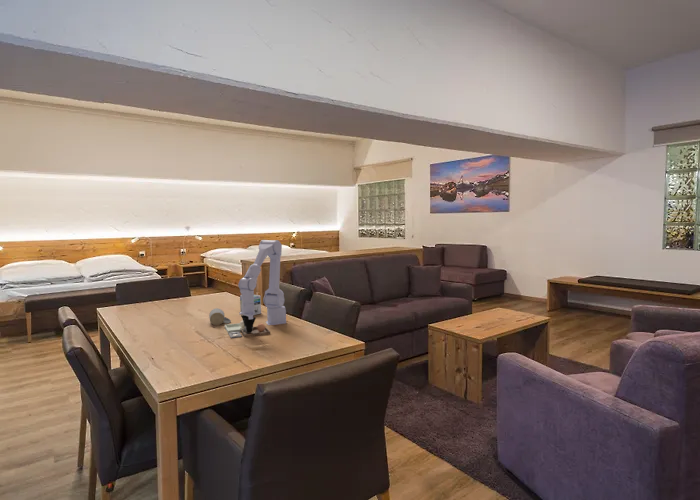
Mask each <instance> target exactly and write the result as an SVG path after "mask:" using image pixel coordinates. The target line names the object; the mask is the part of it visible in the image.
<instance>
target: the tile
mask: <svg viewBox="0 0 700 500" xmlns="http://www.w3.org/2000/svg"><path fill="white" fill-rule="evenodd" d="M227 334H228V336H229V337H230V339H237V338H243V334H242V333H241V332H231V333H228V332H227Z"/></svg>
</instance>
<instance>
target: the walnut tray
mask: <svg viewBox="0 0 700 500" xmlns="http://www.w3.org/2000/svg"><path fill="white" fill-rule="evenodd" d="M257 326H258V325H257ZM257 326H253V331H252V332H251V333H246V332H245V331H243V330H242V329H244V328H240V329H241V332H240V334H241V335H242V337H244V338H251V337H258V336H259V337H260V336H266V335H271V331H270V329H268V327H267V326H265V330H264V331H263V332H259V331H258V330H257Z"/></svg>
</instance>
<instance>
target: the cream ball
mask: <svg viewBox="0 0 700 500" xmlns="http://www.w3.org/2000/svg"><path fill="white" fill-rule="evenodd" d="M239 323H240V327H241V328H245V326H244V322H243V319H242V320H240V322H239Z"/></svg>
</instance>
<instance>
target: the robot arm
mask: <svg viewBox="0 0 700 500" xmlns="http://www.w3.org/2000/svg"><path fill="white" fill-rule="evenodd" d="M282 247H283V245H282V243H281V241H280V240H278V239H276V240H274V239H273V240H270V239H269V240H268V239H262V240H260V242H259V245H258V253H257V254H256V255H257V256H256V258H255V260H254V262H253V264H251V265H249V266H248V269H247V271H246V273H245V275H244V276H243V277H242V278H240V279H239V281H238V285H237V286H238V288H239V292H240V295H241V298H242V312H239V315H240V317H241V319H242V320H243V322H244V326H246V330H247V332H252V329H253V327H254V324H255V321H256V319H257V318H256V317H255V315H254V313H255V311H254V295H255V291H254V290H255V289H256V288H257V282H258V277H259V275H260V273H261V271H262V269H261V266H262V264H263V263H264V261H265V259H266V258H267V257H268V258H269V279H268V288H267V289H266V290H265V291H264V296H263V300H262V301H263V304H264V305H265V307H266V311H267V312H266V314H267V315H266V317H267V320H266V321H265V324H267V326H275V325H284V324H287V311H286V310H287V309H286V306H285V305H284V304H285V296H284V295H285V293H284V291H283V290H282V289H280V279H281V277H280V276H281V274H280V273H281V256H282Z"/></svg>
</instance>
